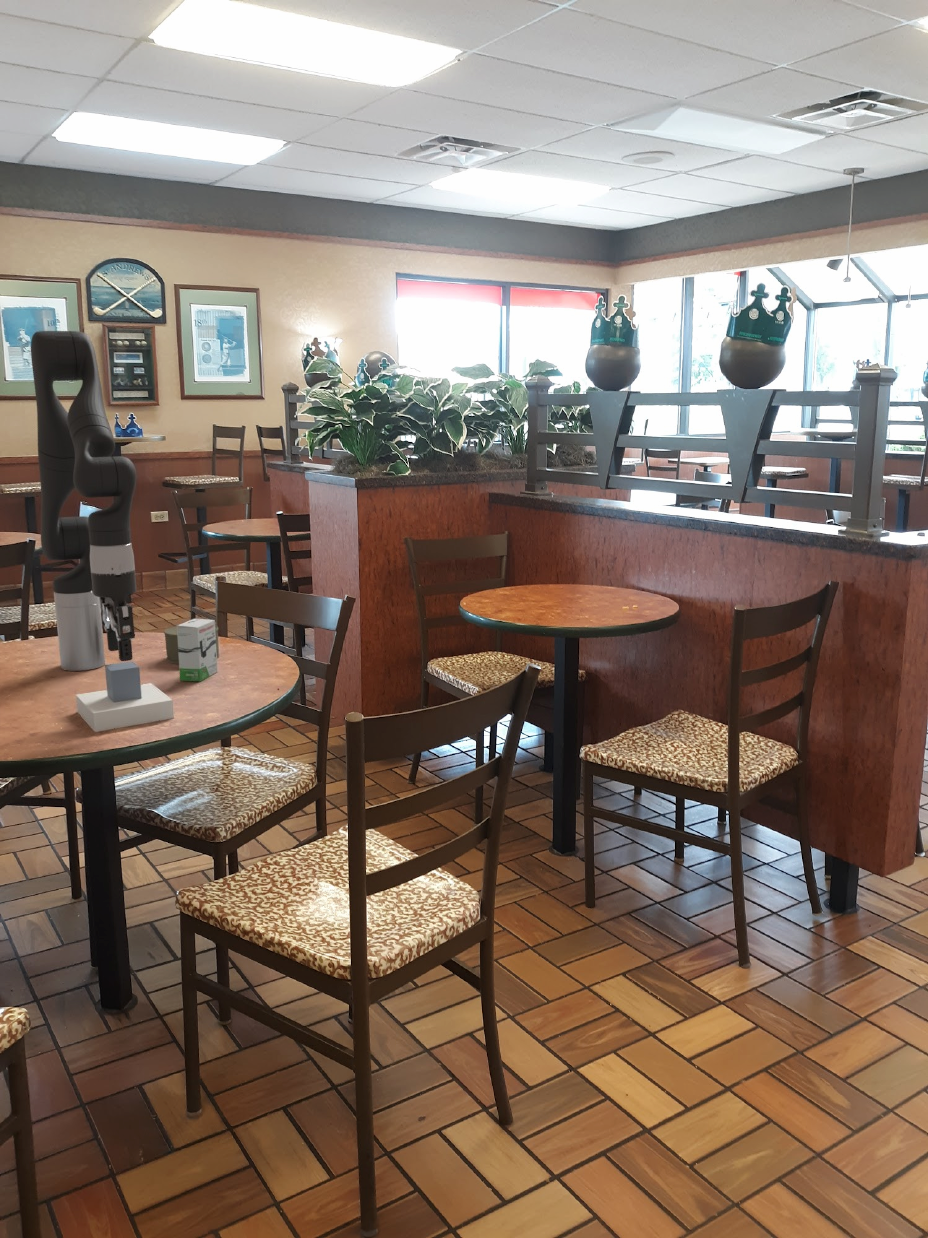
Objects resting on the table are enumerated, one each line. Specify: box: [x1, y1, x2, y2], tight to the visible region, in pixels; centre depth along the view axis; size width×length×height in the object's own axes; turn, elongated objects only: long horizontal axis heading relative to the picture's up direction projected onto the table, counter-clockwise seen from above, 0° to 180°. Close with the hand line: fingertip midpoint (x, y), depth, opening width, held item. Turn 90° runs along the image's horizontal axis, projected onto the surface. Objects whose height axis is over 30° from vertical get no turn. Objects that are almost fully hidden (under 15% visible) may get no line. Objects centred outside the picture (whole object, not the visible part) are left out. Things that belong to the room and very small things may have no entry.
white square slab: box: [75, 682, 175, 733], centre depth 180 cm, size 14×14×4 cm
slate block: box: [104, 660, 142, 703], centre depth 179 cm, size 5×5×6 cm
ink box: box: [176, 618, 218, 682], centre depth 205 cm, size 9×5×12 cm, turn 168°
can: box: [163, 625, 220, 665], centre depth 221 cm, size 12×12×7 cm
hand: (120, 655), depth 178 cm, fingers open, 8 cm apart
